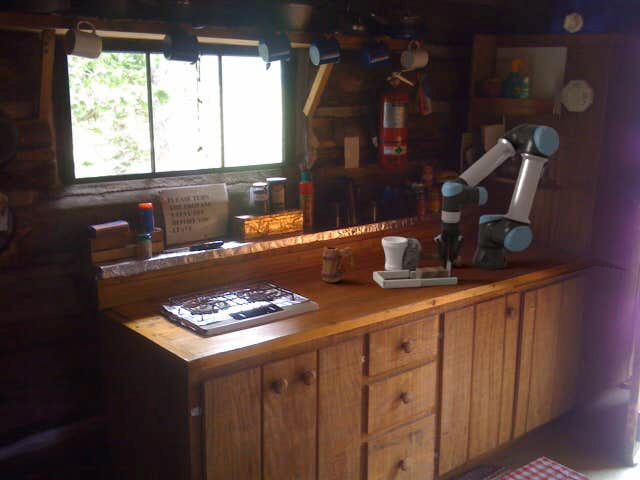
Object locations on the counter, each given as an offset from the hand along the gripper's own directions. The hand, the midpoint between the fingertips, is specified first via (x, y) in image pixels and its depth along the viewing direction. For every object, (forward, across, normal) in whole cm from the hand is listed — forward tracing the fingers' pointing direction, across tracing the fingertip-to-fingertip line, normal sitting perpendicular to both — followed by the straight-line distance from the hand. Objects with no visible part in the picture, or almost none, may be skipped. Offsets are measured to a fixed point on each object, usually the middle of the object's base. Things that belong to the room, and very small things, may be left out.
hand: (446, 275), depth 292 cm
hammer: (+2, +1, -17) cm, 17 cm away
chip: (+2, +4, 0) cm, 4 cm away
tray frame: (+2, +22, 0) cm, 22 cm away
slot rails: (+2, +6, 0) cm, 6 cm away
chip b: (+2, +10, 0) cm, 10 cm away
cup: (+2, +18, -16) cm, 24 cm away
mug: (+2, +46, -5) cm, 46 cm away
